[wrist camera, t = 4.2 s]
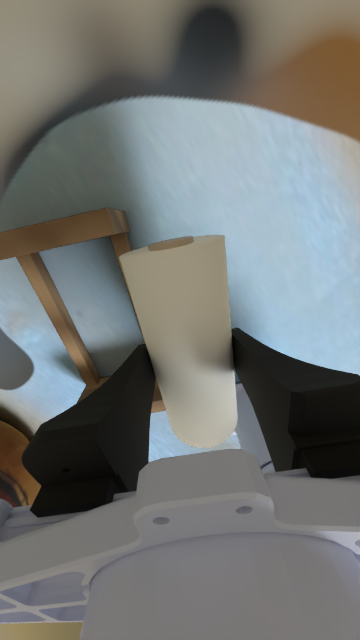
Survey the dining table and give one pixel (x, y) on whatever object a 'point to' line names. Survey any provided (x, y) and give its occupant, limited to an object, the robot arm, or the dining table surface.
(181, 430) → the cylinder
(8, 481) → the ceramic pitcher
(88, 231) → the holder
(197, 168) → the dining table surface
